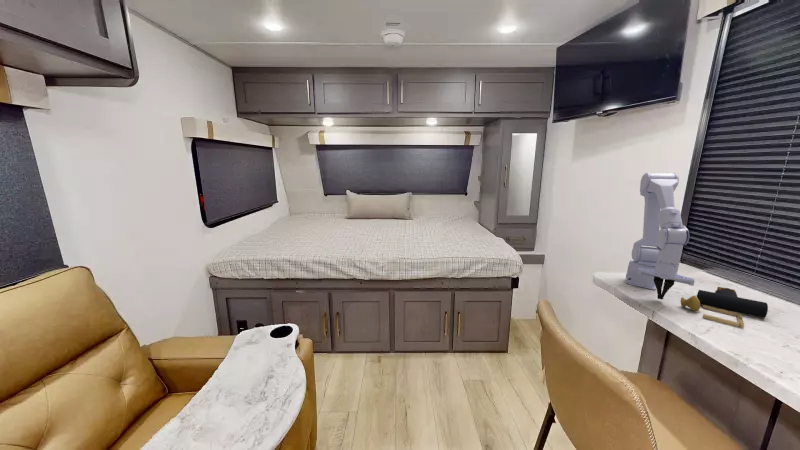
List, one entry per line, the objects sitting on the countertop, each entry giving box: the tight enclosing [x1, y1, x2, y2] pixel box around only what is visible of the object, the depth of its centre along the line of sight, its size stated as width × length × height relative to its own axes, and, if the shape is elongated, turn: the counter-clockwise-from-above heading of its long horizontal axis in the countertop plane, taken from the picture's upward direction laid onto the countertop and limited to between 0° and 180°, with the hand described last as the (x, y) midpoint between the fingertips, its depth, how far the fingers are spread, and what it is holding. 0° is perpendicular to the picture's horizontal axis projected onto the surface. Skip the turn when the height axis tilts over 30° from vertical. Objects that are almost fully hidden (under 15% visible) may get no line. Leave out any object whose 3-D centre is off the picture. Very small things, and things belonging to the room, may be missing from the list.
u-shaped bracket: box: [702, 305, 745, 329], centre depth 93 cm, size 8×10×1 cm
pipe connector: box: [696, 286, 769, 319], centre depth 100 cm, size 12×5×15 cm
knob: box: [680, 295, 701, 313], centre depth 98 cm, size 5×5×5 cm
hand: (660, 298), depth 103 cm, fingers closed
